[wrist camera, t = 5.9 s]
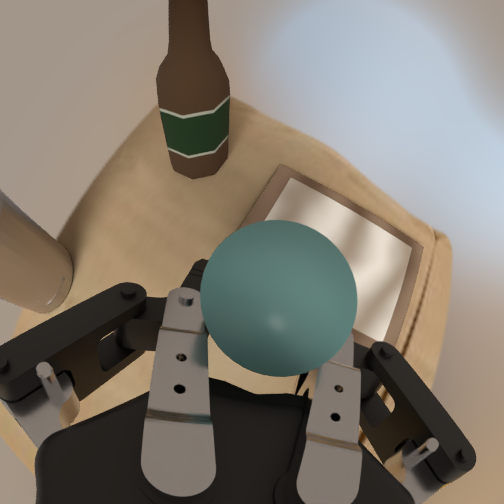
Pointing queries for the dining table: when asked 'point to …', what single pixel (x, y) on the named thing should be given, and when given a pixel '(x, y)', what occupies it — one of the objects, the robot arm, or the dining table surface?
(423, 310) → the dining table surface
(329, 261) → the teal-capped glass tube
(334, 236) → the writing board
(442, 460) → the robot arm
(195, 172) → the beer bottle
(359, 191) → the dining table surface
